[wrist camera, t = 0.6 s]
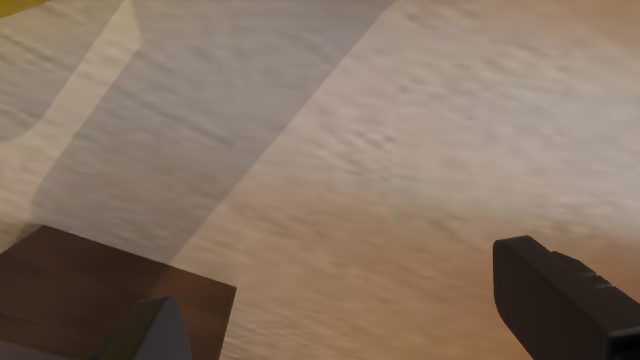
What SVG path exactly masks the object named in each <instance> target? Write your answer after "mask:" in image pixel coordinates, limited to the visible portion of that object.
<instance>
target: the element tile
mask: <svg viewBox="0 0 640 360" xmlns="http://www.w3.org/2000/svg"><path fill="white" fill-rule="evenodd" d="M46 1H49V0H0V18H2V17H5V16H7V15H10V14H13V13H16V12H18V11H21V10H24V9H27V8H29V7H32V6H35V5H38V4H40V3H43V2H46Z"/></svg>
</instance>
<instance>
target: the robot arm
mask: <svg viewBox="0 0 640 360" xmlns="http://www.w3.org/2000/svg"><path fill="white" fill-rule="evenodd" d="M493 281H494V299H495V304H496V307H497V310H498V312H499V315H500V317H501V318H502V320H503V321H504V323H505V324H506V325H507V327H508V328H509V329H510V330H511V332H512V333H513V334H514V335H515V337H516V338H517V339H518V340H519V342H520V343H521V344H522V346H523V347H524V348H525V349H526V351H527V352H528V353H529V354H530V356H531V357H532V358H533V359H534V360H640V304H639V303H637V302H636V301H635V300H633V299H632V298H630V297H629V296H628V295H626V294H625V293H623V292H622V291H621V290H619V289H618V288H616V287H612V286H611V283H609V282H608V281H607V280H605V279H604V278H602V277H601V276H600V275H599V276H597V275H596V273H595V272H594V271H593V270H591V269H590V268H588V267H587V266H586V265H584V264H583V263H581V262H580V261H579V260H576V259H574V258H571V257H569V256H566V255H564V254H561V253H558V252H556V251H553V252H550V251H549V250H547V249H546V248H545V247H544V246H542V245H541V244H540V243H538V242H537V241H536V240H534V239H533V238H532V237H530V236H528V235H525V236H519V237H513V238H507V239H501V240H496V241H495V242H494V244H493ZM86 360H192V355H191V348H190V344H189V341H188V338H187V334H186V331H185V328H184V325H183V322H182V318H181V315H180V312H179V309H178V306H177V303H176V300H175V299H174V297H173V296H171V295H167V296H162V297H156V298H150V299H144V300H139V301H138V302H137V303H136V304H135V306H134V307H133V309H132V310H131V312H130V313H129V315H128V317H127V318H126V320H125V321H124V323H123V324H120V325H117V326H116V327H115V328H114V329H112V330H111V331H110V332H109V333H108V334H107V335H105V336H104V337H103V338H102V339H101V340H100V341H98V343H97V344H96V346H95V347H94V349H93V350H92V351H91V353H90V354H89V356H88V357H87V359H86Z"/></svg>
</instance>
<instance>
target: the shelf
mask: <svg viewBox="0 0 640 360" xmlns="http://www.w3.org/2000/svg"><path fill="white" fill-rule="evenodd" d="M236 289H237V288H236V287H233V286H230V285H227V284H224V283H221V282H218V281H214V280H211V279H208V278H205V277H202V276H199V275H196V274H193V273H190V272H187V271H184V270H181V269H178V268H174V267H171V266H168V265H165V264H162V263H159V262H156V261H153V260H150V259H147V258H144V257H141V256H138V255H134V254H131V253H128V252H125V251H122V250H119V249H116V248H113V247H110V246H107V245H104V244H101V243H98V242H95V241H91V240H88V239H85V238H82V237H79V236H76V235H73V234H70V233H67V232H64V231H61V230H58V229H55V228H51V227H48V226H45V225H43V226H41V227H40V228H38V229H37V230H35V231H34V232H33V233H31V234H30V235H28V236H27V237H25V238H24V239H22V240H21V241H19V242H18V243H16V244H15V245H13V246H12V247H10V248H9V249H7V250H6V251H4V252H3V253H1V254H0V360H86V359H87V357H88V356H89V354H90V353H91V351H92V350H93V349H94V347H95V346H96V344H97V343H98V341H100V340H101V339H102V338H103V337H104V336H105V335H107V334H108V333H109V332H110V331H111V330H112V329H114V328H115V327H116V326H117V325H120V324H123V323H124V321H125V320H126V318H127V317H128V315H129V313H130V312H131V310H132V309H133V307H134V306H135V304H136V303H137V302H138V301H139V300H144V299H150V298H156V297H162V296H167V295H171V296H173V297H174V299H175V300H176V303H177V306H178V309H179V312H180V315H181V318H182V322H183V325H184V328H185V331H186V334H187V338H188V341H189V344H190V348H191V355H192V360H219V357H220V353H221V349H222V345H223V341H224V337H225V333H226V329H227V325H228V321H229V317H230V313H231V309H232V305H233V301H234V297H235V293H236Z"/></svg>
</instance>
